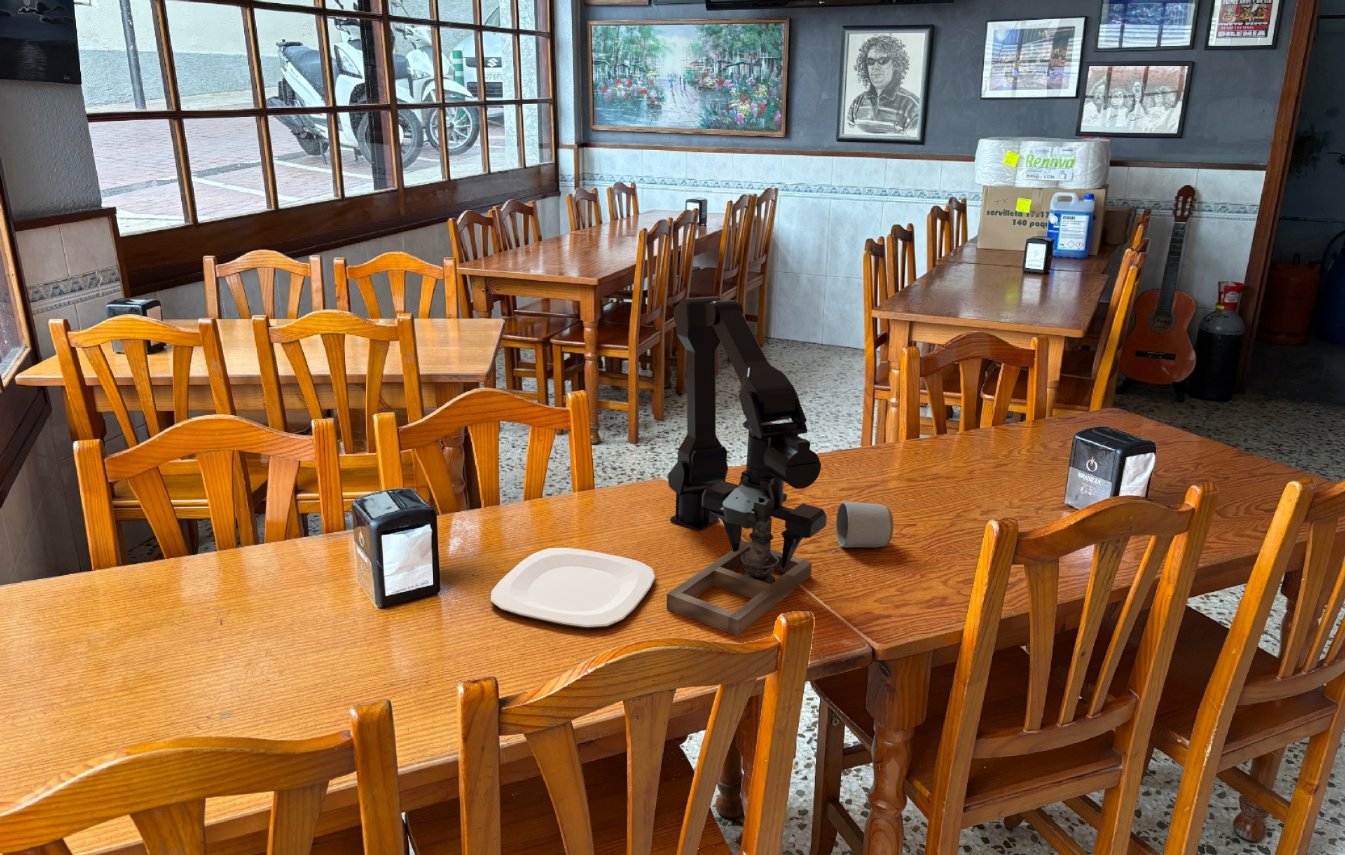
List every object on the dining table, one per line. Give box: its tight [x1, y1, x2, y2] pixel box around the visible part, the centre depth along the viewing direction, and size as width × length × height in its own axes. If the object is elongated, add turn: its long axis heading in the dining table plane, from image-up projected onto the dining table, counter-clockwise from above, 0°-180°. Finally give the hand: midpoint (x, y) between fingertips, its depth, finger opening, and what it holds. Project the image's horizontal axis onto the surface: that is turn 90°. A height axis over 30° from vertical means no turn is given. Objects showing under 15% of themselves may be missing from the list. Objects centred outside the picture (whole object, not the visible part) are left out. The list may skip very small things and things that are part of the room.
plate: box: [490, 547, 656, 629], centre depth 137 cm, size 22×22×2 cm
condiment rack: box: [665, 541, 813, 637], centre depth 138 cm, size 12×22×2 cm, turn 145°
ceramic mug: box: [835, 501, 894, 548], centre depth 155 cm, size 11×8×8 cm
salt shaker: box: [741, 517, 779, 584], centre depth 140 cm, size 6×6×12 cm
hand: (759, 558), depth 141 cm, fingers closed on salt shaker, 8 cm apart
